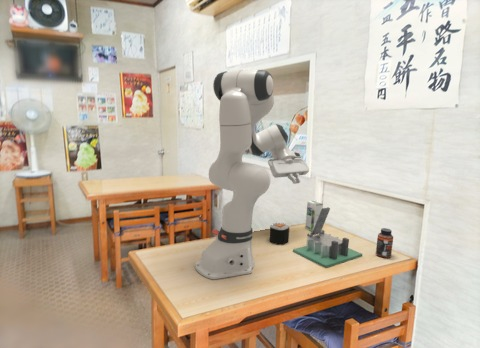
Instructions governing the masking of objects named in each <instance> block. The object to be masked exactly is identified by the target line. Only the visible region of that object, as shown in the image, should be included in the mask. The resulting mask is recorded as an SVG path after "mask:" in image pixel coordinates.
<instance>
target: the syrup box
mask: <svg viewBox="0 0 480 348" xmlns="http://www.w3.org/2000/svg"><path fill="white" fill-rule="evenodd" d="M322 208H324V202H321V201H319V200H315V199H311V200H307V202H306V216H305V226H304V227H305V229H306V230H308V231H309V232H310V231H311V233H312V232H313V230H314V227H315V225H316V222H317V220H318V217H319V215H320V212H321V210H322Z"/></svg>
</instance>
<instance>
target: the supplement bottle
mask: <svg viewBox="0 0 480 348" xmlns="http://www.w3.org/2000/svg"><path fill="white" fill-rule="evenodd" d="M393 243H394V235H392V230H391V229H390V228H386V227H385V228H384V227H383V228H381V229H380V233H378V234H377V240H376V248H375V255H377V256H378V257H380V258H384V259H390V258H391V256H392V251H393Z"/></svg>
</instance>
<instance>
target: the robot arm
mask: <svg viewBox="0 0 480 348" xmlns="http://www.w3.org/2000/svg"><path fill="white" fill-rule="evenodd" d="M212 84H213V86H212V88H213V93H214V95H215V96H216V98H217V99H218V101H219V111H218V112H219V113H218V114H219V115H218V118H219V119H218V121H219V145H220V146H219V152H218V156H217V158H216V159H215V161H214V162H213V163H212V164H210V167H209V169H208V179H209V181H210V183H211V184H213V185H214V186H216V187H218V188H220V189H221V190H222V189H223V190H226V191H230V192H233V194H232V199H231V201H229V202H227V203H226V204H225V205H224V206H223V207H222V209H221V210H222V214H221V227H220V229H217V228H213V230H212V235H215V236H217V238H215V240H213V241H212V242H211V243H210V244H209V245H208V246H206V247H205V248H204V249H203V250H202V253H201V259H200V260H199V261H196V262H195V263H194V267H195V268H194V269H195V270H196V271H197V272H198V273H199V274H200V275H201V276H203V277H205V278H207V279H210V280H218V279H224V278H231V277H236V276H242V275H243V276H244V275H248V274H252V272H253V270H252V269H253V268H254V267H255V261H254V257H253V249H252V240H253V232H254V231H253V227H252V224H253V213H254V212H253V211H254V207H255V205H256V203H257V201H258V199H259V198H260V197H261V196H262V195H264V194H265V193H266V192H267V191H268V190H269V188H270V185H271V176H270V173H269V170H270V172H271V175H272V177H274V178H275V179H276V178H277V179H278V178H286V177H287V179H289V180H290V181H291V182H292V184H294V185H295V184H299V183H301V178H300V176H306V175H308V173H309V172H310V168H309V166H308V163H307V162H306V161H305V159H304V158H302V155H303V154H301V153H299V152H296V151H293V150H291V148H289V146H287V143H288V139H289V136H288V134H287V132H286V131H285V129H284V126H283V125H281V124H278V123H275V124H273V125H272V124H271V125H270V126H269V127H266V128H265V129H263V130H261V131H258V132H256V126H257V124H258V123H259V122H260V121H261V120H262V119H263V118H265V116H267V115H268V114H269V113H270V112H271V110H272V109H273V107H274V104H275V98H274V93H273V91H274V79H273V75H272V74H271V73H270V72H269V71H267V70H263V69H257V68H252V69H245V70H244V69H236V70H232V71H222V72H220V73H218V74H217V75H216V76H215V78H214V80H213V83H212ZM247 150H248V151H249V152H250V154H251V155H253V156H256V157H260V156H263V155H264V154H265V153H267V152H270V153H271V155H272V158H269V159H268V161H267V164H268V166H269V170H268V169H267V168H265V167H262V166H260V165H258V164H255V163H248V162H243V155H244V152H246V151H247Z"/></svg>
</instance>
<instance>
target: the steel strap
mask: <svg viewBox="0 0 480 348" xmlns="http://www.w3.org/2000/svg"><path fill="white" fill-rule="evenodd" d="M330 210H331V208H330V207H323V208H322V210H321V212H320V215H319V217H318V220H317V222H316V225H315V227H314V230H313V232H312V231H311V233H313V235H318V234H320V232H321V231H322V230H323V227H324V225H325V222H326V220H327V217H328V216H329V212H330Z"/></svg>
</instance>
